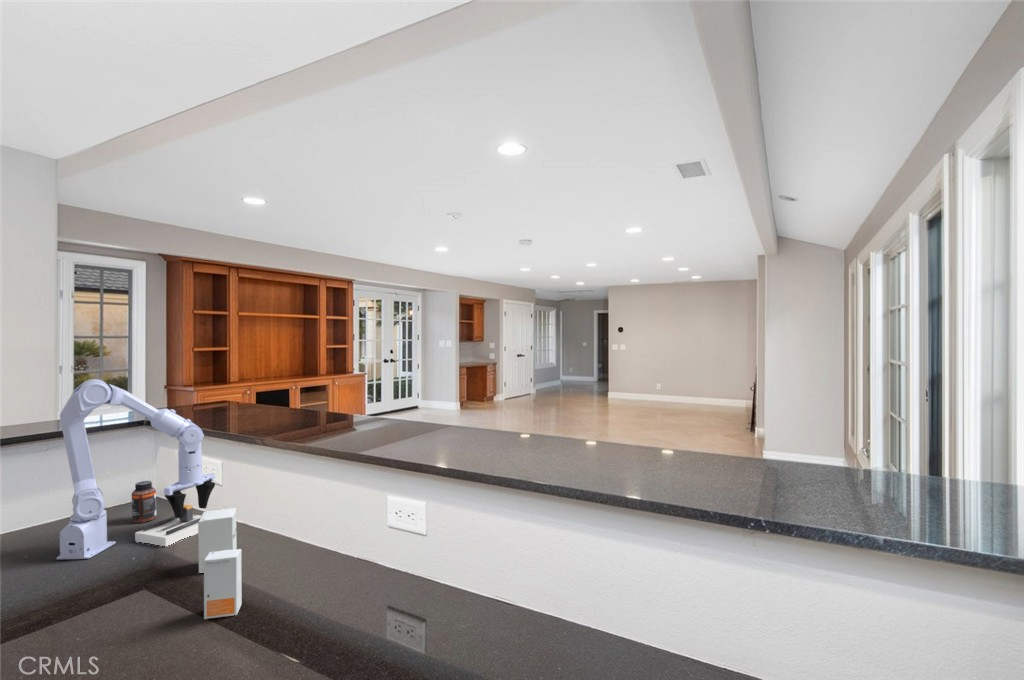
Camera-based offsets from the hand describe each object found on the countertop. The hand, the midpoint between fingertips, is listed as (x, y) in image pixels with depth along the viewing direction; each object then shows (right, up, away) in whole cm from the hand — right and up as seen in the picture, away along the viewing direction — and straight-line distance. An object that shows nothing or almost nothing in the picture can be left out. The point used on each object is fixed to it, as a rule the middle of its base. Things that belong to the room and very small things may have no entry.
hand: (191, 512), depth 148 cm
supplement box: (+21, -5, -23) cm, 32 cm away
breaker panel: (-1, -5, -4) cm, 6 cm away
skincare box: (+34, -6, -44) cm, 56 cm away
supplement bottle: (-18, -5, +6) cm, 19 cm away
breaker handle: (-1, -2, -2) cm, 2 cm away
